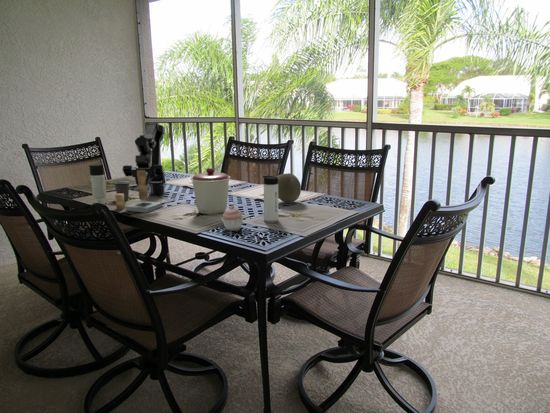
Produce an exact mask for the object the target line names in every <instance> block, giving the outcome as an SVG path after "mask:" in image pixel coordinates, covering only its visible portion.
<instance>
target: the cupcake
mask: <svg viewBox="0 0 550 413" xmlns="http://www.w3.org/2000/svg"><path fill="white" fill-rule="evenodd" d="M244 218H245V217H244V216H243V215H242V212H241V210H239V208H238V207H237V206H235V205H230V206H229V207H228V208H226V210H225V211H224V212H223V214H222V217H220V219H221V221H222V222H223V225H224V228H225V230H226V231H230V232H231V231H232V232H233V231H239V230H241V228H242V223H243V220H244Z"/></svg>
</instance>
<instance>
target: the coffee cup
mask: <svg viewBox="0 0 550 413" xmlns="http://www.w3.org/2000/svg"><path fill="white" fill-rule="evenodd" d="M130 183H131V182H130V181H128V180H117V181H115V182H113V185H114V188H115V192H116V194H124V201H128V200H129V199H130V198H129V195H130V194H129V193H130V191H129V190H130Z"/></svg>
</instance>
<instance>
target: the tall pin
mask: <svg viewBox="0 0 550 413" xmlns="http://www.w3.org/2000/svg"><path fill="white" fill-rule="evenodd" d="M137 178H138V186H137V188H138V199H139V200H141V201H146V200H147V199H148V198H149V197H148V193H149V192H148V185H146V179H147V172H146V170H143V169H142V170H137Z"/></svg>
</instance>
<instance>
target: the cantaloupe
mask: <svg viewBox="0 0 550 413" xmlns="http://www.w3.org/2000/svg"><path fill="white" fill-rule="evenodd" d="M276 177H277V178H278V200H279V201H281V202H284V203H293V202H296V201H297V200H298V199H299V198H300V196H301V192H302V190H301V188H302V185H301V182H300V180H299V179H298V177H297V176H296V175H295V174H293V173H281V174H278V175H276Z"/></svg>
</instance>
